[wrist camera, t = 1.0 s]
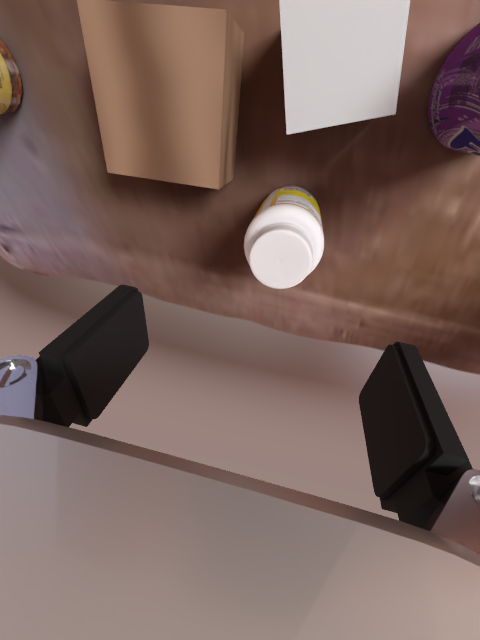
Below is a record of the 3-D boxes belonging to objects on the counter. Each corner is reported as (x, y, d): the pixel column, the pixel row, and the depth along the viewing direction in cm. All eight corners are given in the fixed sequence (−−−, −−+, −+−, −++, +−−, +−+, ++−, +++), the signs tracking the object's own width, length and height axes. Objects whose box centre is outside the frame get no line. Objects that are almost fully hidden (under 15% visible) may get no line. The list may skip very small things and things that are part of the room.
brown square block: (244, 34, 19) (226, 9, 15) (233, 178, 24) (218, 189, 20) (123, 23, 20) (76, -2, 16) (139, 164, 25) (107, 172, 21)
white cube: (386, -5, 16) (417, -58, 12) (374, 117, 20) (395, 114, 15) (287, 24, 18) (278, -12, 13) (291, 132, 21) (286, 134, 17)
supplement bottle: (273, 254, 27) (257, 309, 19) (249, 201, 25) (220, 237, 17) (328, 233, 25) (337, 285, 17) (309, 171, 22) (308, 198, 14)
